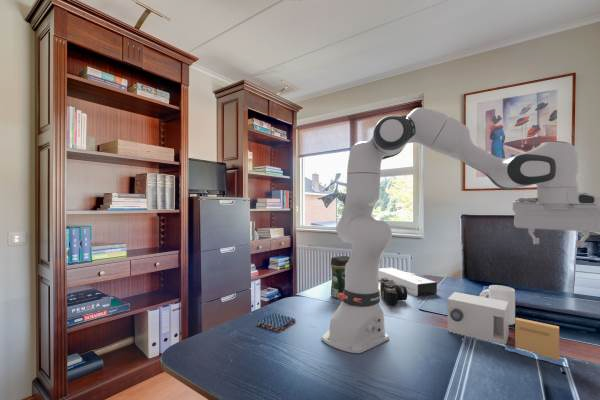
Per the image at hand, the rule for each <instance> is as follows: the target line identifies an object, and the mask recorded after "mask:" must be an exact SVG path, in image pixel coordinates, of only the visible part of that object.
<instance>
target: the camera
mask: <svg viewBox="0 0 600 400" xmlns="http://www.w3.org/2000/svg"><path fill="white" fill-rule="evenodd" d="M379 287H380V289H379V290H380V298H381V299H382V300H383V302H384V303H385V304H386V306H387V307H389V308H395V307H396V306H397V305H398V302H399V301H407V300H408V293H407V289H406V287H405V286H403V285H396V284H395V282H394V281H393V280H392V279H388V278H385V277H383V278H381V280H380V281H379Z"/></svg>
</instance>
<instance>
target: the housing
mask: <svg viewBox="0 0 600 400" xmlns="http://www.w3.org/2000/svg"><path fill="white" fill-rule="evenodd" d="M446 300H447V305H446V306H447V307H446V308H447V313H446V314H447V315H446V316H447V317H446V318H447V325H446V327H447V330H446V331H447V332H448V331H449V332H448V333H451V332H453V333H452V334H455V333H457V334H456V335H459V334H461V335H460V336H463V335H465V336H464V337H466V336H470V337H475V338H480V339H483V340H489V341H493V342H497V343H502V344H506V345H507V342H508V339H509V337H510V336H509V335H510V334H509V329H510V328H509V326H510V325H509V309H508V302H507V301H502V300H496V299H491V298H489V297H480V295H473V294H468V293H462V292H458V291H454V292H453V293H452V294H451V295H449V297H448V298H447V299H446ZM470 337H469V338H470Z"/></svg>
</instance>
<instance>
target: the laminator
mask: <svg viewBox="0 0 600 400" xmlns="http://www.w3.org/2000/svg"><path fill="white" fill-rule="evenodd" d="M383 277H385V278H388V279H392V280H393V281H394V282H395V284H396V285H403V286H405V287H406V289H407V294H410V295H411V296H415V297H423V296H430V295H437V293H438V288H437V287H438V283H437V281H434V280H430V279H428V278H424V277H421V276H418V275H415V274H412V273H409V272H406V271H403V270H401V269H398V268H394V267H381V268H380V267H379V280H381V278H383Z"/></svg>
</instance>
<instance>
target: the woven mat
mask: <svg viewBox="0 0 600 400" xmlns="http://www.w3.org/2000/svg"><path fill="white" fill-rule="evenodd" d="M268 315H269V316H268ZM268 315H267V316H266V317H263V318H261V319H260V320H257V326H260V327H263V328H266V329H267V330H273V331H275V332H278V333H280V332H282V331H284V330H286V329H288V328H289V327H290V326H293V324H295V323H297V320H296V318H295V317H290V316H287V315H283V314H280V313H277V312H276V313H275V312H274V313H273V312H272V314H268Z"/></svg>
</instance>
